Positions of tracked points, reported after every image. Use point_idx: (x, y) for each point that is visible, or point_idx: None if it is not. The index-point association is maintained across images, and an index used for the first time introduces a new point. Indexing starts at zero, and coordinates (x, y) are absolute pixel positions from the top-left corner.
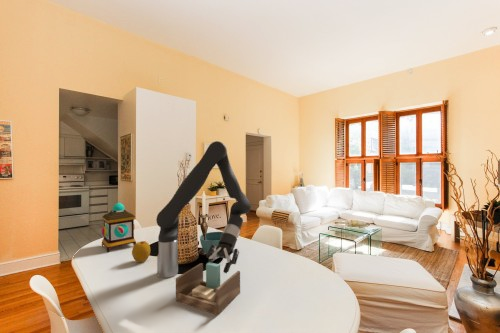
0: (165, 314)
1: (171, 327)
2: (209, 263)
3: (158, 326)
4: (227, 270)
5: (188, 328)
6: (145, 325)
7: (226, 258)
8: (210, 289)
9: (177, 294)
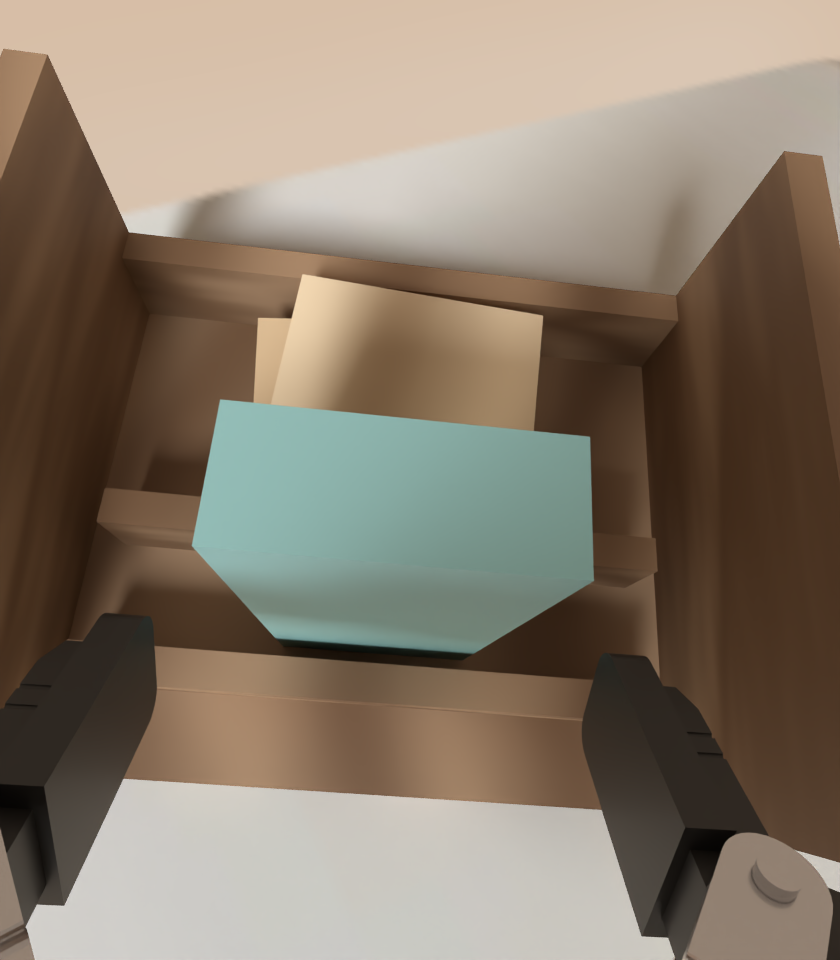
0: (625, 243)
1: (464, 146)
2: (531, 508)
3: (560, 134)
4: (47, 673)
5: (336, 166)
6: (652, 121)
7: (19, 929)
8: (315, 398)
9: (678, 300)
